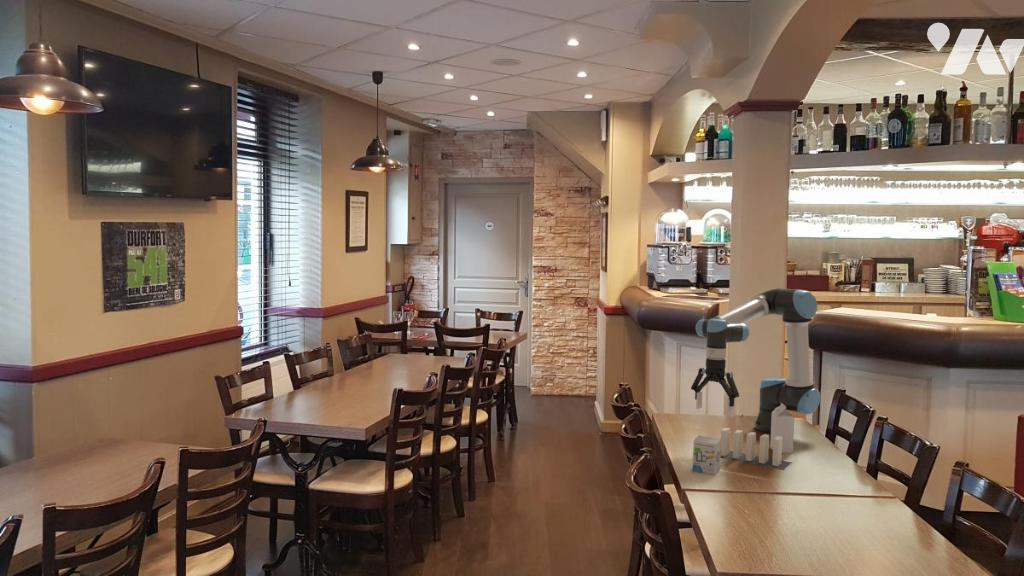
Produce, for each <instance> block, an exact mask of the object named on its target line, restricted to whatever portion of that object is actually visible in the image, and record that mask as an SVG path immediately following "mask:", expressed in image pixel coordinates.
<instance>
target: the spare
mask: <svg viewBox="0 0 1024 576" xmlns="http://www.w3.org/2000/svg"><path fill="white" fill-rule="evenodd" d="M720 439H721V456H726V455H728V454H729V452H730V451H731V450H730V446H731V428H729V427H724V428H722V429H721V430H720Z"/></svg>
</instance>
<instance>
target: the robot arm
mask: <svg viewBox="0 0 1024 576" xmlns="http://www.w3.org/2000/svg"><path fill="white" fill-rule="evenodd" d="M817 311H818V301H817V299H816V296H815V295H814V294H813V293H812V292H811V291H809V290H804V289H796V288H795V289H793V288H792V289H791V288H781V287H780V288H778V287H777V288H774V289H773V288H772V289H769V290H766V291H763V292H761V293H758V294H757V295H754V296H753V297H752V298H751V299H750V300H749V301H746V302H745V303H743V304H740V305H738V306H736V307H734V308H731V309H730V310H727V311H725V312H723V313H721V314H719V315H717V316H714V317H711V318H709V319H706V318H705V319H703V318H702V319H699V320H697V322H696V323H695V332H696V334H697V335H698V336H699V337H702V338H704V339H706V352H705V354H706V358H705V367H701V368H700V367H699V368H698V373H697V375H696V377H695V379H694V381H693V382H692V385H691V387H690V389H691V390H692V391H694V399H695V400H696V409H697V410H698V409H701V408H703V407H702V406H703V391H702V390H703V388H704V387H705V386H706V385H708V383H709V382H715V383H718V384H719V385H721V387H722V389H723V390H724V393H726V395H727V396H728V398H726V415H727V416H731V415H732V414H733V407H734V406H735V399H736V398H739V397H740V393H739V391H738V388H737V385H736V382H735V380H734V377H733V374H734V373H733V372H731V371H730V372H726V367H727V366H726V364H727V363H726V362H727V360H726V358H727V343H740V342H744V341H746V340H747V339H748V338H749V336H750V330H749V327H748V325H746V324H745V323H748V322H749V321H751V320H754V319H756V318H757V317H761V318H762V317H765V316H768V315H776V316H777V315H778V316H782V323H784V324H785V326H786V341H787V342H786V346H787V347H786V348H787V369H788V374H787V375H788V378H781V377H780V378H776V377H775V378H763V379H761V381H760V384H759V386H760V387H759V405H758V406H759V407H758V409H759V410H758V413H757V416H756V418H755V421H754V429H756V430H757V431H759V432H764V433H768V434H771V419H772V412H773V411H774V410H775V408H777V407H779V406H780V405H781V403H782V404H783V405H785V406H786V410H787V411H788V412H794V413H797V414H800V415H802V414H803V415H811V414H813V413H814V412H815V411H816V410H817V409H818V408H819V406H820V402H821V392H820V391H819V390H818V389H817V388H815V383H814V381H813V380H812V379H811V378H810V377H811V375H810V345H809V344H810V343H809V324H810V323H811V322H812V318H814V317H815V315H816V314H817ZM704 375H706V376H705V377H704V378H703V376H704ZM702 379H703V380H702Z"/></svg>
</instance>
